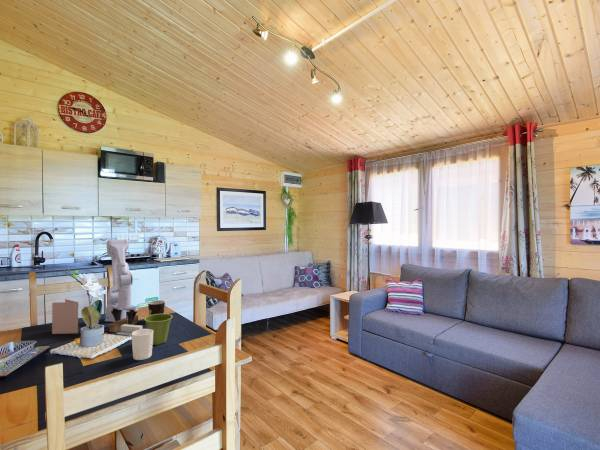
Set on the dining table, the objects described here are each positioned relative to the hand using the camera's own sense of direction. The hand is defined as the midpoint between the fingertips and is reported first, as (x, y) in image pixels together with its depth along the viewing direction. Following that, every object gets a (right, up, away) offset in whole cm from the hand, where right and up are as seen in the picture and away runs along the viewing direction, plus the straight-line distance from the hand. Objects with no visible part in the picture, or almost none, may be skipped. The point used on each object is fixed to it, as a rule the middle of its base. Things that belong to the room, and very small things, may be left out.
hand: (124, 324), depth 164 cm
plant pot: (+26, -2, -19) cm, 32 cm away
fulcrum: (+8, -2, -8) cm, 11 cm away
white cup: (+26, -3, -35) cm, 44 cm away
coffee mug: (+12, -2, +10) cm, 16 cm away
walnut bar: (0, -2, 0) cm, 2 cm away
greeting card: (-23, -1, -10) cm, 25 cm away
